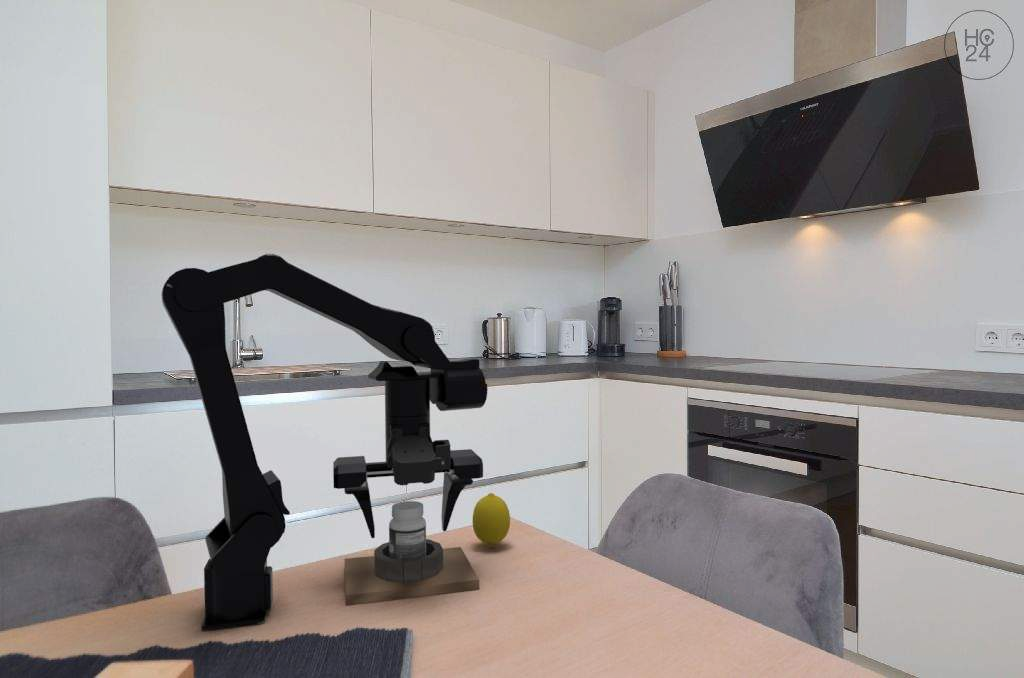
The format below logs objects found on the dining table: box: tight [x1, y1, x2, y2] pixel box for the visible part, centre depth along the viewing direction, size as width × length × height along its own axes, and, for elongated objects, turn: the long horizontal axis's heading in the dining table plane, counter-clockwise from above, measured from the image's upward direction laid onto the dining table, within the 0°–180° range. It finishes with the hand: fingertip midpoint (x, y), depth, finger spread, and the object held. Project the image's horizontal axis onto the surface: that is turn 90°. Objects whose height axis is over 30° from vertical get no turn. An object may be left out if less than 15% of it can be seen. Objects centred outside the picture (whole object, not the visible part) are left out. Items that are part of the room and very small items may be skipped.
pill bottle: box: [388, 500, 427, 560], centre depth 83 cm, size 5×5×8 cm
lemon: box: [472, 492, 511, 548], centre depth 94 cm, size 6×6×8 cm
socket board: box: [343, 538, 480, 606], centre depth 83 cm, size 16×12×4 cm
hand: (409, 533), depth 83 cm, fingers open, 9 cm apart
